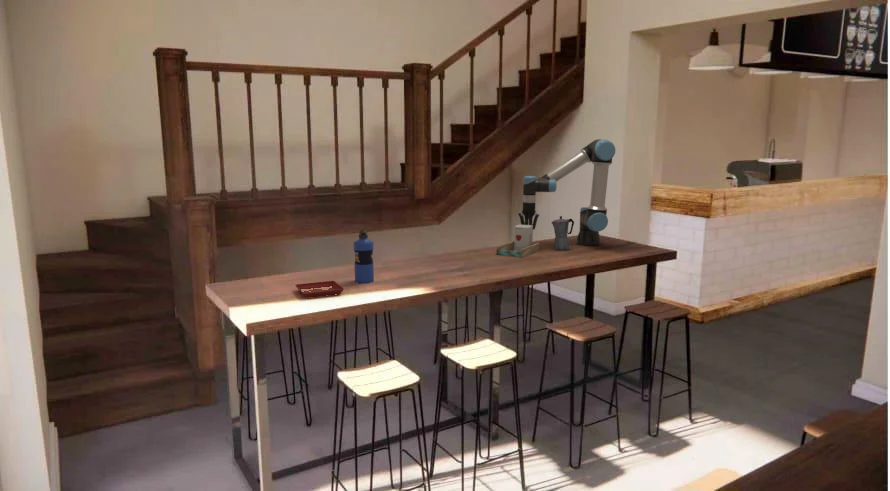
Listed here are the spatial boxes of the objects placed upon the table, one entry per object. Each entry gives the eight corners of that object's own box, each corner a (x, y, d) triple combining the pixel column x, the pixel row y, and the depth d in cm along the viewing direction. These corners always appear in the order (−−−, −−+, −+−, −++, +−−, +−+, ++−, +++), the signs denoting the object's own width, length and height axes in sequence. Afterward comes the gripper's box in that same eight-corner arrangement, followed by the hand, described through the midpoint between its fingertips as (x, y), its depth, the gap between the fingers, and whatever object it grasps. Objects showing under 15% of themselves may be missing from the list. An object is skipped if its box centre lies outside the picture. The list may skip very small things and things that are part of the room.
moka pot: (546, 248, 383) (547, 215, 380) (567, 246, 390) (568, 214, 386) (555, 251, 375) (556, 217, 371) (577, 249, 381) (578, 216, 377)
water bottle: (357, 284, 299) (356, 231, 294) (352, 280, 307) (350, 228, 302) (376, 282, 302) (375, 230, 298) (370, 278, 311) (369, 227, 306)
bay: (539, 250, 378) (539, 243, 377) (522, 257, 358) (522, 249, 357) (514, 247, 386) (514, 240, 385) (496, 254, 366) (496, 246, 365)
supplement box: (513, 251, 376) (514, 226, 373) (517, 248, 384) (518, 224, 381) (528, 252, 372) (529, 227, 369) (532, 249, 380) (533, 224, 378)
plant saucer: (295, 291, 288) (294, 283, 288) (334, 286, 296) (333, 280, 295) (303, 300, 272) (303, 293, 272) (344, 296, 280) (344, 288, 279)
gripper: (516, 202, 379) (515, 241, 383) (536, 203, 372) (535, 243, 377) (521, 200, 385) (520, 239, 390) (541, 202, 379) (540, 241, 383)
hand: (528, 241), depth 383 cm, fingers closed
